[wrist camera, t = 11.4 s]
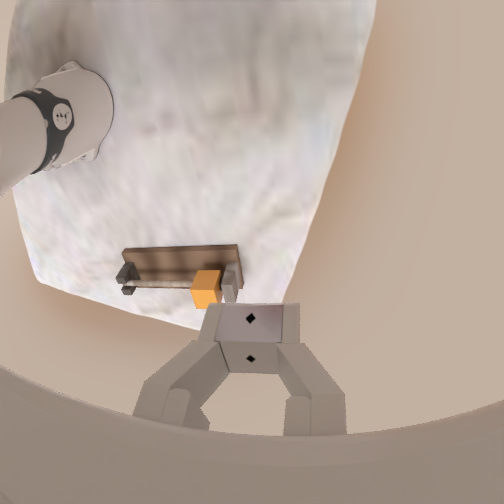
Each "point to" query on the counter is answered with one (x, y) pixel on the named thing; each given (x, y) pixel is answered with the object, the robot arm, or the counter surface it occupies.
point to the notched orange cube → (206, 288)
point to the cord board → (180, 268)
